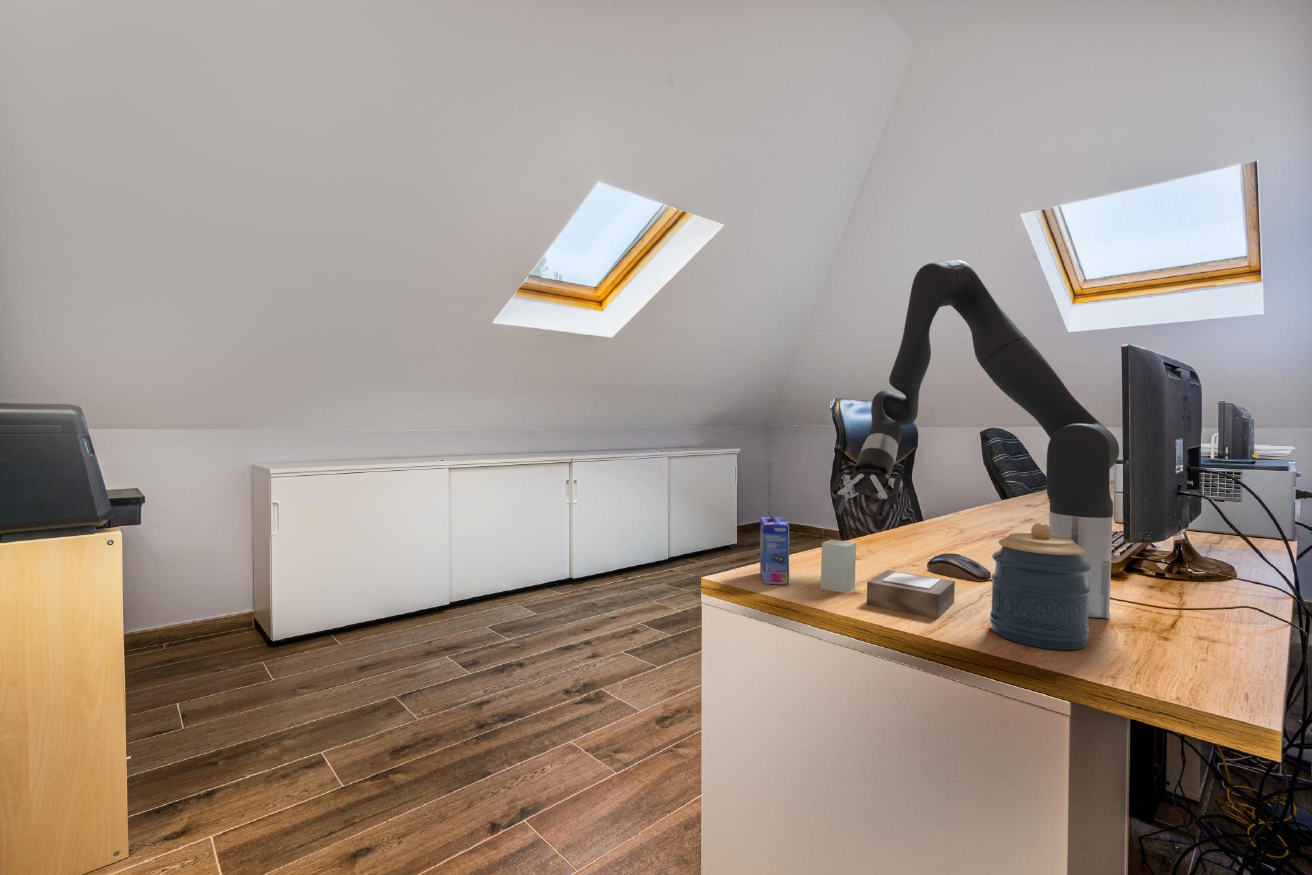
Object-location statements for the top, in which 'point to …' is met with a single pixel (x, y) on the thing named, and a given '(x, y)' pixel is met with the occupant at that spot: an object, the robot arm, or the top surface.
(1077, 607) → the canister
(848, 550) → the sage block
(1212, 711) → the top surface
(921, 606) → the walnut plinth
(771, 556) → the ink cartridge box
